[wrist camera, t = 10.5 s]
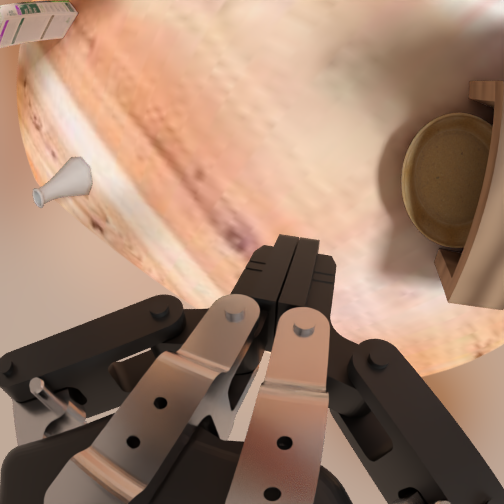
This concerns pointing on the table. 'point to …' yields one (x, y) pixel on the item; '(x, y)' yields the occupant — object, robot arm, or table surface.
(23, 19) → the syrup box
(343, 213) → the table surface
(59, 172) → the flask
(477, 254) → the walnut shelf
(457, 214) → the plant saucer
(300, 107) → the table surface
